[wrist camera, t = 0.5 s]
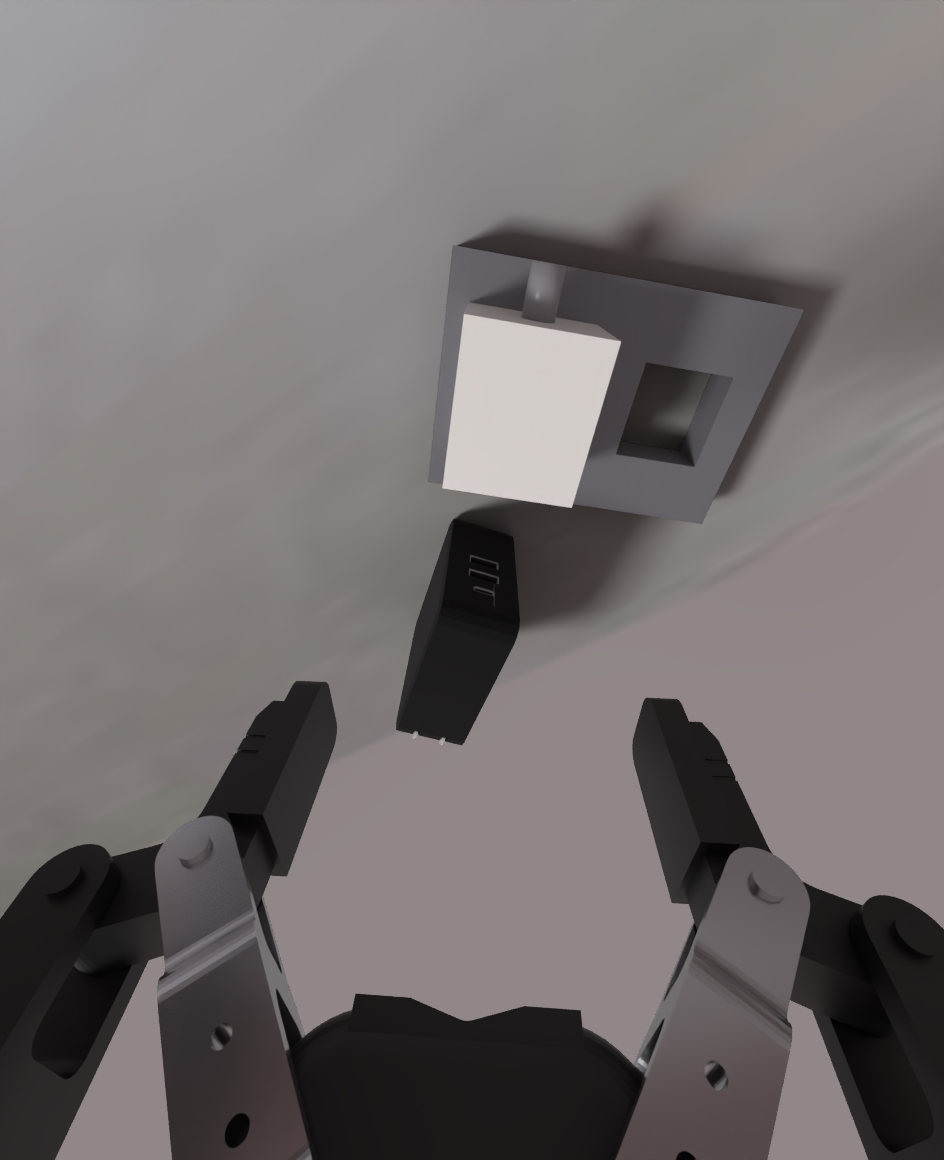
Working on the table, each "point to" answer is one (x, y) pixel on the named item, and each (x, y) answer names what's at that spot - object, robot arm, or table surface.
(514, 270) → the socket plate
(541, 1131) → the robot arm
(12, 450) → the table surface
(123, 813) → the table surface
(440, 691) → the electronic device
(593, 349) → the plug
